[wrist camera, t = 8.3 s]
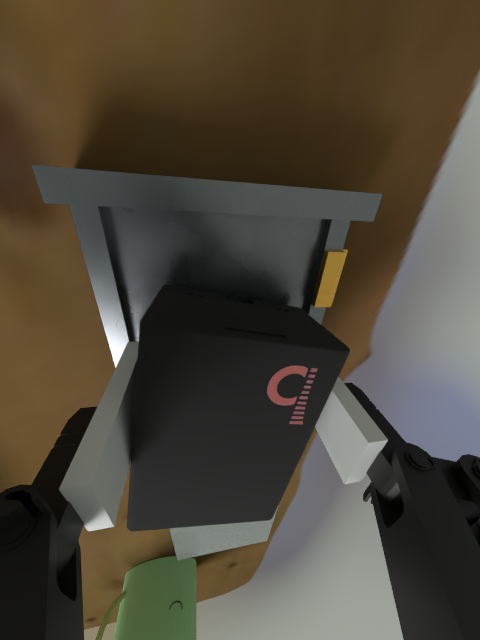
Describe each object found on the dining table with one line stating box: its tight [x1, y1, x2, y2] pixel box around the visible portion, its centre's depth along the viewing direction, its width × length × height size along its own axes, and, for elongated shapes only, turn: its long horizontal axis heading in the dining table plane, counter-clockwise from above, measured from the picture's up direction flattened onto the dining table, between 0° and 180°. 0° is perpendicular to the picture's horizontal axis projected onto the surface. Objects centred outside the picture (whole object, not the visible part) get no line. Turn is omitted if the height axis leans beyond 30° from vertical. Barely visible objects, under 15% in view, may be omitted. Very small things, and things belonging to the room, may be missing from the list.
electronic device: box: [127, 285, 350, 531], centre depth 11 cm, size 7×11×5 cm
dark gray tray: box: [32, 165, 383, 561], centre depth 14 cm, size 26×12×6 cm, turn 176°
